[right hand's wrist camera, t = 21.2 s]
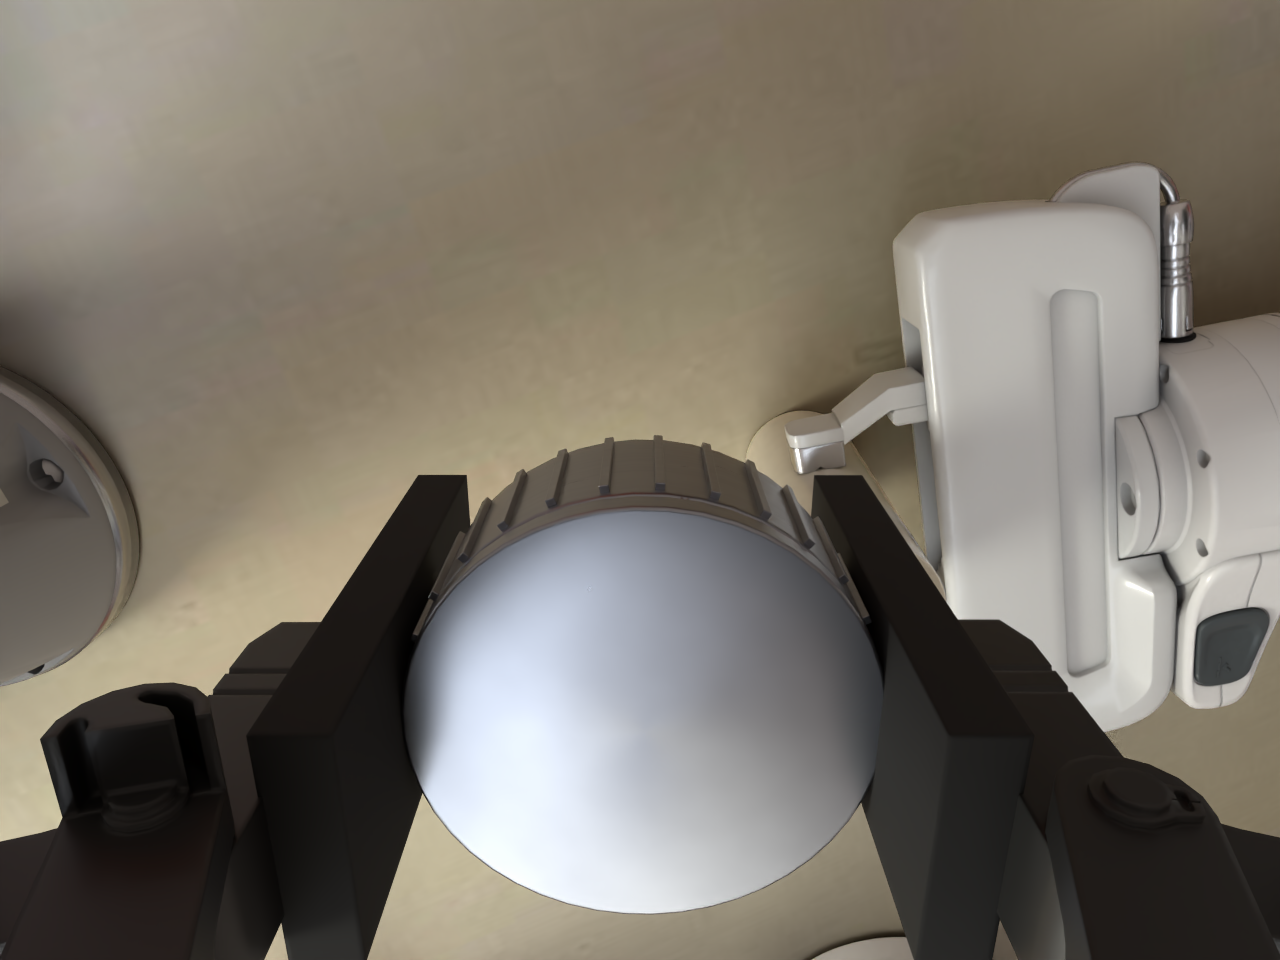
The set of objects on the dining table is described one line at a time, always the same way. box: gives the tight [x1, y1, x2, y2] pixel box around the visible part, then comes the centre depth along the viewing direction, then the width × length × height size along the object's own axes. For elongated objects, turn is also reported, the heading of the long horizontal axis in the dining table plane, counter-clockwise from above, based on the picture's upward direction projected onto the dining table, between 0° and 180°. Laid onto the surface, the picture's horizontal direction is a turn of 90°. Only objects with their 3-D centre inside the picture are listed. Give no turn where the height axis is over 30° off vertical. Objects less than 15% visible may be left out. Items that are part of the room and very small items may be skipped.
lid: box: [401, 435, 884, 914], centre depth 11 cm, size 6×6×2 cm
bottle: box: [745, 411, 947, 602], centre depth 31 cm, size 5×5×15 cm
